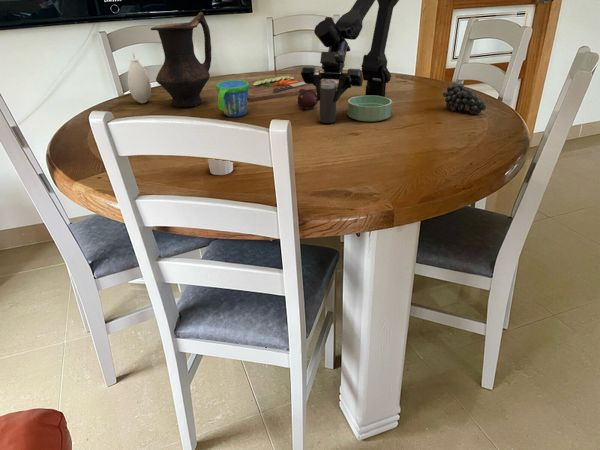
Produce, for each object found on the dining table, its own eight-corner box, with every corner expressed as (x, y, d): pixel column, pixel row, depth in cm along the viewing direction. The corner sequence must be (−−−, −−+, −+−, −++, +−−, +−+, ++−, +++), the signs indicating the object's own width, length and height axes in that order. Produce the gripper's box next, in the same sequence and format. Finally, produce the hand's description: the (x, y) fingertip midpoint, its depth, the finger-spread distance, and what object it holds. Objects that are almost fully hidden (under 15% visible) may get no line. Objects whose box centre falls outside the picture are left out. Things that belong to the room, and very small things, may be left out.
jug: (170, 114, 157) (154, 18, 142) (154, 102, 170) (138, 14, 155) (227, 104, 166) (218, 13, 151) (207, 94, 180) (197, 9, 165)
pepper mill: (330, 117, 148) (331, 77, 142) (338, 121, 144) (339, 80, 138) (317, 119, 146) (316, 79, 140) (324, 123, 142) (324, 82, 136)
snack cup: (233, 122, 147) (230, 90, 142) (208, 118, 152) (204, 87, 147) (261, 110, 159) (259, 80, 154) (236, 106, 164) (234, 77, 159)
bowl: (374, 107, 158) (375, 93, 156) (399, 118, 148) (400, 102, 145) (339, 113, 153) (339, 98, 151) (362, 125, 142) (363, 109, 140)
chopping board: (314, 74, 206) (314, 67, 204) (346, 86, 185) (346, 79, 183) (218, 88, 188) (217, 80, 187) (241, 103, 168) (240, 94, 166)
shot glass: (208, 165, 117) (205, 139, 113) (236, 164, 117) (233, 138, 114) (206, 176, 111) (202, 149, 107) (234, 175, 111) (232, 147, 108)
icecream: (328, 93, 151) (311, 88, 164) (308, 90, 148) (291, 84, 161) (324, 115, 154) (307, 107, 166) (304, 112, 151) (288, 104, 163)
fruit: (493, 86, 144) (453, 77, 154) (477, 99, 141) (437, 89, 151) (493, 110, 150) (454, 100, 160) (477, 123, 147) (439, 112, 157)
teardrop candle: (133, 106, 167) (122, 54, 158) (130, 101, 173) (120, 50, 164) (155, 103, 169) (146, 52, 160) (152, 98, 176) (142, 49, 167)
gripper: (301, 39, 139) (290, 84, 136) (362, 40, 134) (352, 88, 131) (310, 61, 150) (300, 104, 146) (366, 63, 144) (357, 107, 141)
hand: (326, 100), depth 141 cm, fingers closed on pepper mill, 5 cm apart
